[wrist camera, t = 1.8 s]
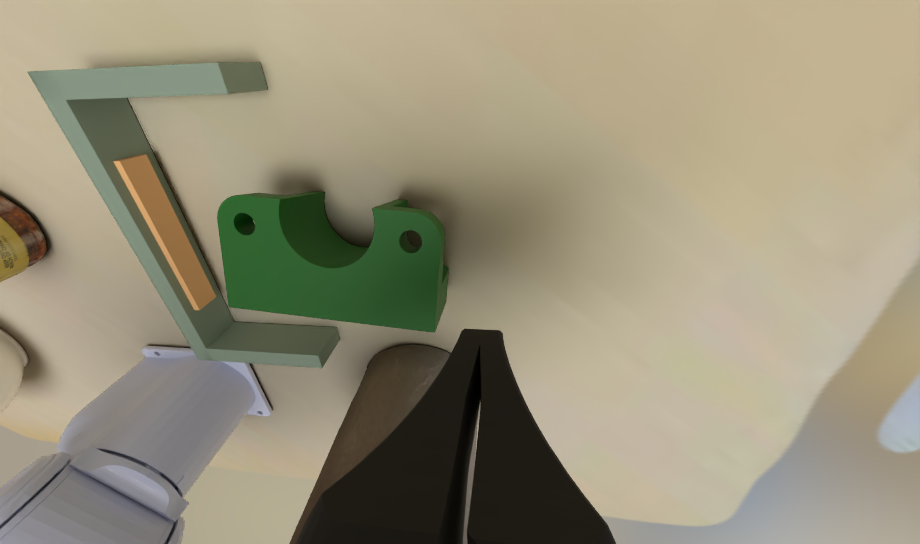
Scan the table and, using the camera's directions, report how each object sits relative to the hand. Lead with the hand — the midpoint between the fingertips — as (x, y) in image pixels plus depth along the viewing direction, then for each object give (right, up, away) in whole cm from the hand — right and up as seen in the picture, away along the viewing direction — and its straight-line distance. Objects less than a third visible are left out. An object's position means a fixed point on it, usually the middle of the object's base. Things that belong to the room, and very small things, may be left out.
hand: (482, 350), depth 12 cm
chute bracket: (-15, +6, +10) cm, 19 cm away
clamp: (-7, +5, +10) cm, 13 cm away
